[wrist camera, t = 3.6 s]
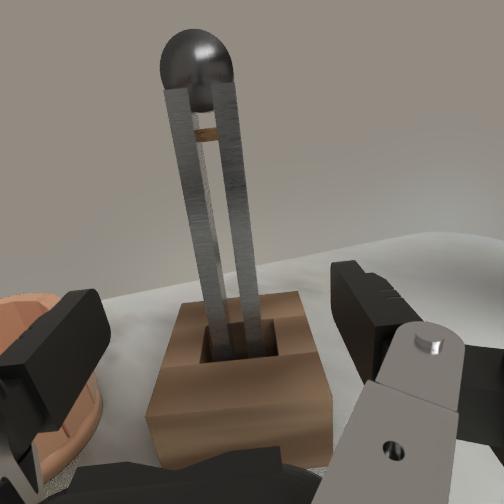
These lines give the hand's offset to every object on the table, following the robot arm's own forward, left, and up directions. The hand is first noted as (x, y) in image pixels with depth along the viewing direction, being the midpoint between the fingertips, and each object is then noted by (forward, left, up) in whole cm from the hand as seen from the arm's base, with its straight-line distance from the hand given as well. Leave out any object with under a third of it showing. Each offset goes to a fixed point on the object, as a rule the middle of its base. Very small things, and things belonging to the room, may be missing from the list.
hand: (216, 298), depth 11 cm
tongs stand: (-2, -6, -12) cm, 14 cm away
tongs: (-2, -6, -12) cm, 14 cm away
